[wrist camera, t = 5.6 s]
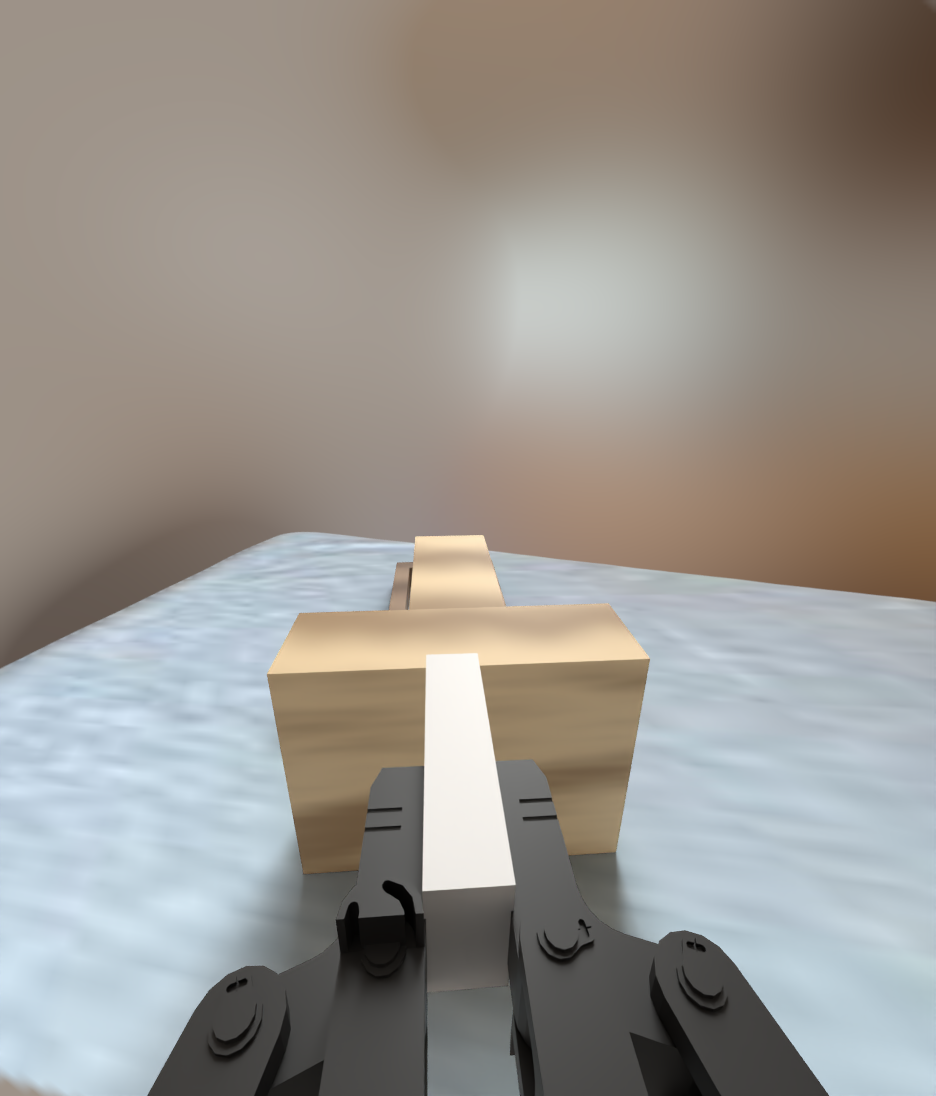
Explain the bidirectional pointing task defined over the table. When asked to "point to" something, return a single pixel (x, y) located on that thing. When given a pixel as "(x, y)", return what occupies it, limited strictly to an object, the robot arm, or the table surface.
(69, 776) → the table surface
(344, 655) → the oak T block
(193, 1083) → the robot arm
